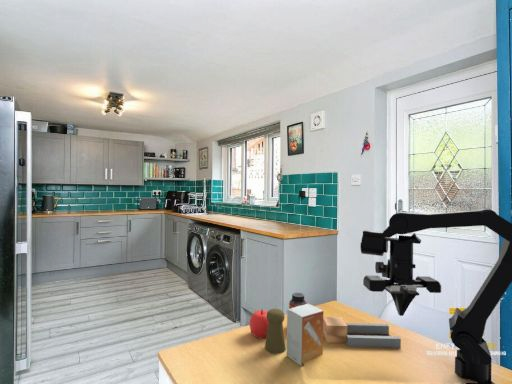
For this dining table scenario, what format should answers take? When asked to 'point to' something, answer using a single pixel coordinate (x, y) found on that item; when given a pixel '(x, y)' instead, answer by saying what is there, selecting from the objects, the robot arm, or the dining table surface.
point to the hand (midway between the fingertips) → (400, 315)
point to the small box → (304, 333)
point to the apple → (259, 323)
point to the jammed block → (335, 329)
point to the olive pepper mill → (275, 332)
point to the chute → (371, 340)
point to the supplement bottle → (297, 300)
